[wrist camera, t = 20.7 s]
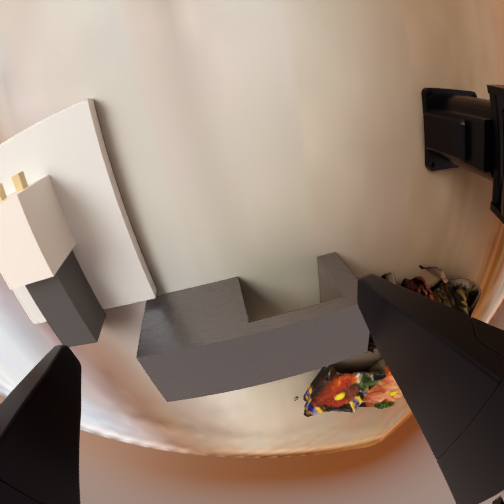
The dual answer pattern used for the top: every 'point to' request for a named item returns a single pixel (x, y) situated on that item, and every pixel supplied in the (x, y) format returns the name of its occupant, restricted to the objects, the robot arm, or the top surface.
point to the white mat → (81, 203)
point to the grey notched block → (247, 336)
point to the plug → (46, 261)
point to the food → (379, 377)
